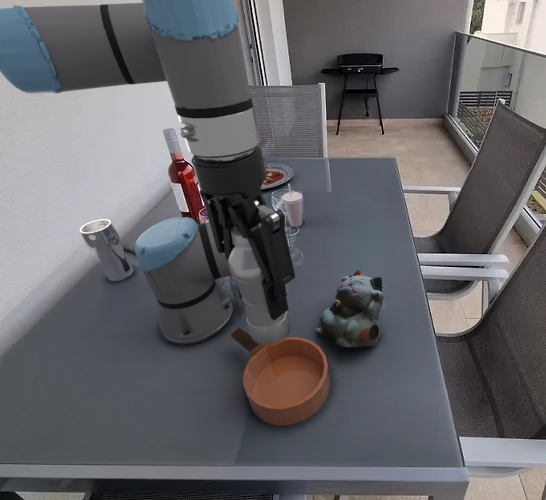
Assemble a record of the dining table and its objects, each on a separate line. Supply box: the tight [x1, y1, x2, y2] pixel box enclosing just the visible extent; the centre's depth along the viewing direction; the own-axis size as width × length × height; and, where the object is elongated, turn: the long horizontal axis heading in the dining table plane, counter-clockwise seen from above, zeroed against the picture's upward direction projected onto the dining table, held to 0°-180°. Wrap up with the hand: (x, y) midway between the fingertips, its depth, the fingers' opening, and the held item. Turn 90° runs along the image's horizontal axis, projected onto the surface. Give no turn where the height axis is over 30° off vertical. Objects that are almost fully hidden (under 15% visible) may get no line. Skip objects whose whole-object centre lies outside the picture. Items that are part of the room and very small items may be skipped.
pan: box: [242, 336, 331, 427], centre depth 62 cm, size 14×14×5 cm
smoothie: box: [281, 183, 304, 228], centre depth 107 cm, size 6×6×14 cm
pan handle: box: [230, 327, 265, 358], centre depth 67 cm, size 8×3×3 cm, turn 50°
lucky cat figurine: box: [315, 269, 385, 348], centre depth 71 cm, size 15×12×14 cm
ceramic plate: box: [261, 163, 294, 190], centre depth 140 cm, size 26×26×3 cm
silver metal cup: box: [79, 218, 134, 282], centre depth 89 cm, size 7×7×15 cm
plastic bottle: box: [228, 225, 292, 346], centre depth 50 cm, size 6×7×20 cm
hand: (263, 303), depth 51 cm, fingers closed on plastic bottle, 6 cm apart
